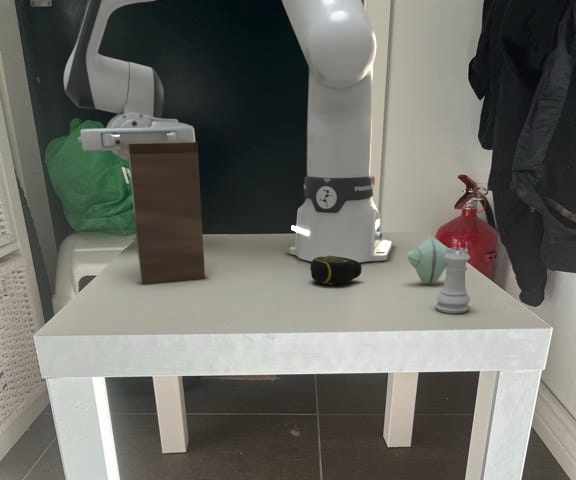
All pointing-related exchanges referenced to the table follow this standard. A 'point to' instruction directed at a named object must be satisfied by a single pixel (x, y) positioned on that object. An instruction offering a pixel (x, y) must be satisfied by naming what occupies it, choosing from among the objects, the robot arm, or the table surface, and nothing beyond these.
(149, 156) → the shelf stand
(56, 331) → the table surface
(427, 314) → the table surface
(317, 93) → the robot arm
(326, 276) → the tape measure
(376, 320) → the table surface
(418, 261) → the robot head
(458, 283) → the rook chess piece
